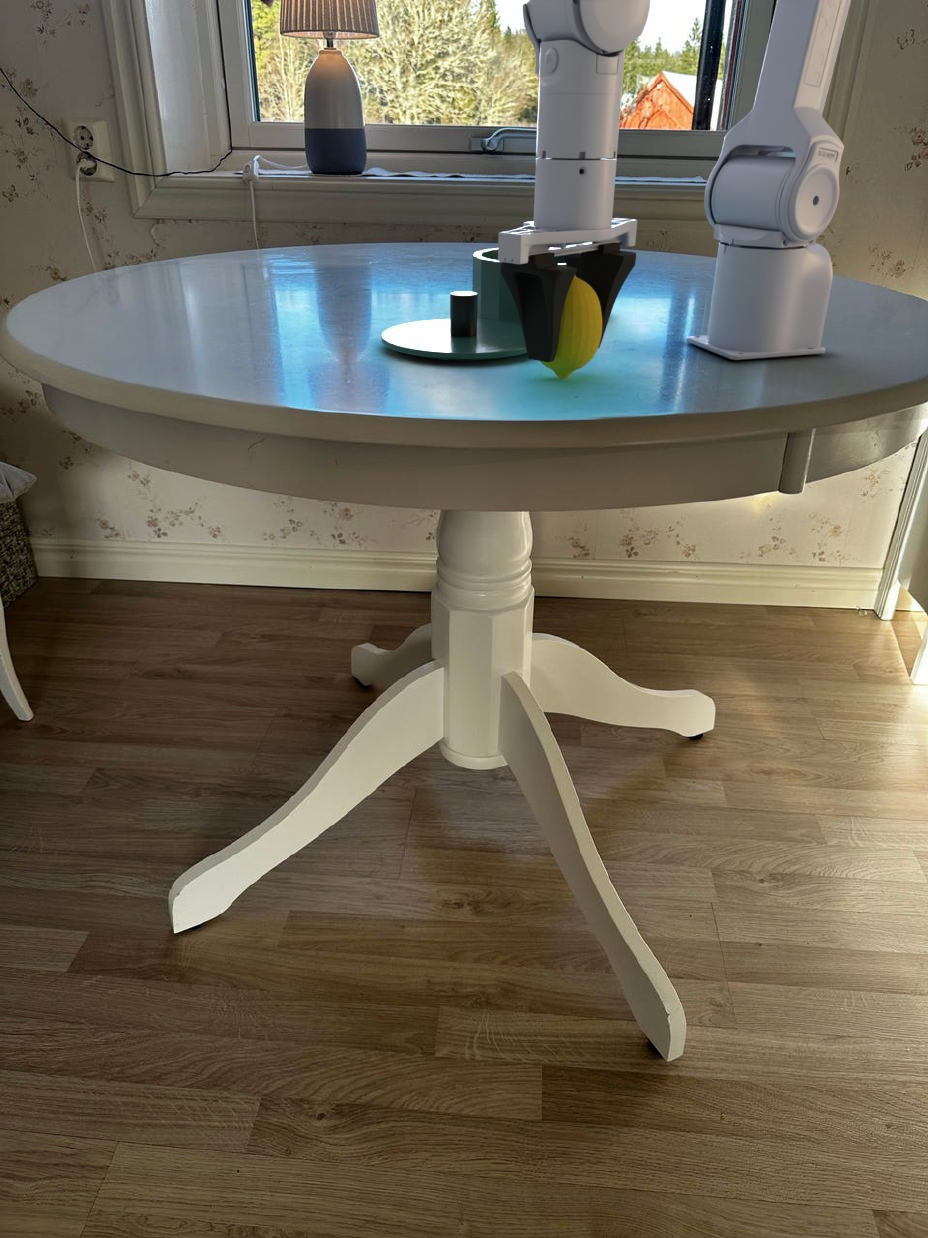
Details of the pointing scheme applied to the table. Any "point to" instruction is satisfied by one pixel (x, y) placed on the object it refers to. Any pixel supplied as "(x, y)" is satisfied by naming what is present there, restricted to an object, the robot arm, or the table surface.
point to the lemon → (577, 330)
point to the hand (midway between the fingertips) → (564, 353)
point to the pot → (495, 288)
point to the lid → (458, 335)
